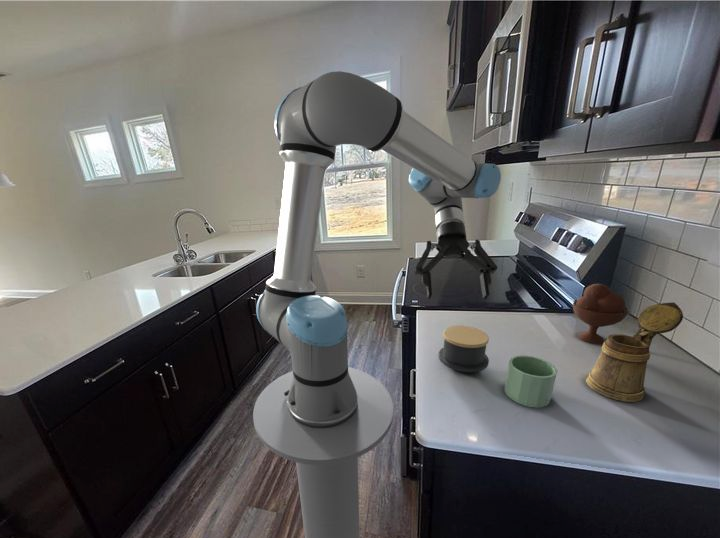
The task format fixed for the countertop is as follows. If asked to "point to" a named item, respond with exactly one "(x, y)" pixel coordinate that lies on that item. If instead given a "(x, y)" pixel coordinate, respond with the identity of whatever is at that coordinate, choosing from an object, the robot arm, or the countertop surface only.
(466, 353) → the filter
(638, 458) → the countertop surface
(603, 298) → the ice cream bowl
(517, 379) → the cup
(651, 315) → the wooden mug
